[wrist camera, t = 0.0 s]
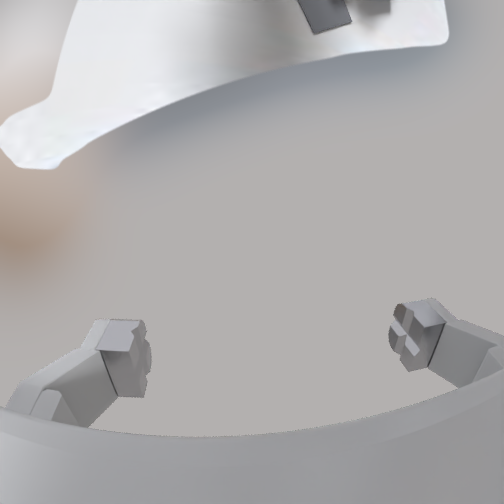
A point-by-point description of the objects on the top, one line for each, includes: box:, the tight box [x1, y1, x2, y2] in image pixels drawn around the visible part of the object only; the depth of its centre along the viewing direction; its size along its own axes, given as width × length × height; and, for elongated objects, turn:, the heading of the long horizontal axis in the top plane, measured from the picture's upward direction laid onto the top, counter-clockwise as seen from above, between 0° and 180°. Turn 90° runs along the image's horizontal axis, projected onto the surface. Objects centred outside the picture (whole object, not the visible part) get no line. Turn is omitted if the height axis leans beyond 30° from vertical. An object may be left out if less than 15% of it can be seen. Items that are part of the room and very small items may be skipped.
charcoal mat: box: [298, 0, 352, 33], centre depth 40 cm, size 9×8×1 cm
